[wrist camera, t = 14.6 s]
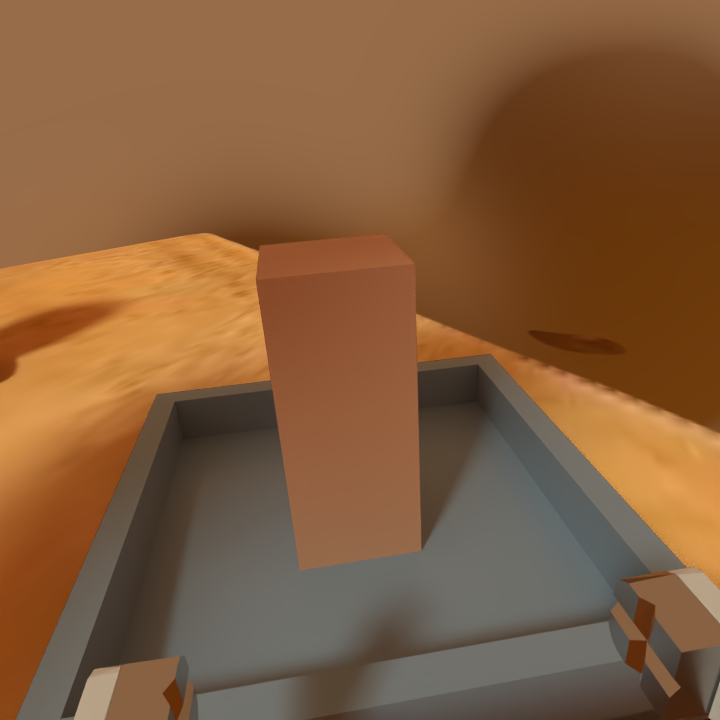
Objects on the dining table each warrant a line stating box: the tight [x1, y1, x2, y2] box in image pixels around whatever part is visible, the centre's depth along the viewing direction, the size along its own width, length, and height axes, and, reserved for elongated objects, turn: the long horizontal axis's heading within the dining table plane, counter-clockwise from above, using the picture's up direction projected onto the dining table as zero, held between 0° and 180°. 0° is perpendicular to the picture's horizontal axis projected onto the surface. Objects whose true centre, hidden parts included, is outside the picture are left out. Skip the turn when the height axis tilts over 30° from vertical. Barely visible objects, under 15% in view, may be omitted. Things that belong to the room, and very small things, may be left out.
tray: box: [16, 354, 709, 720], centre depth 24 cm, size 20×20×4 cm
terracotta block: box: [256, 234, 421, 570], centre depth 21 cm, size 5×5×12 cm
